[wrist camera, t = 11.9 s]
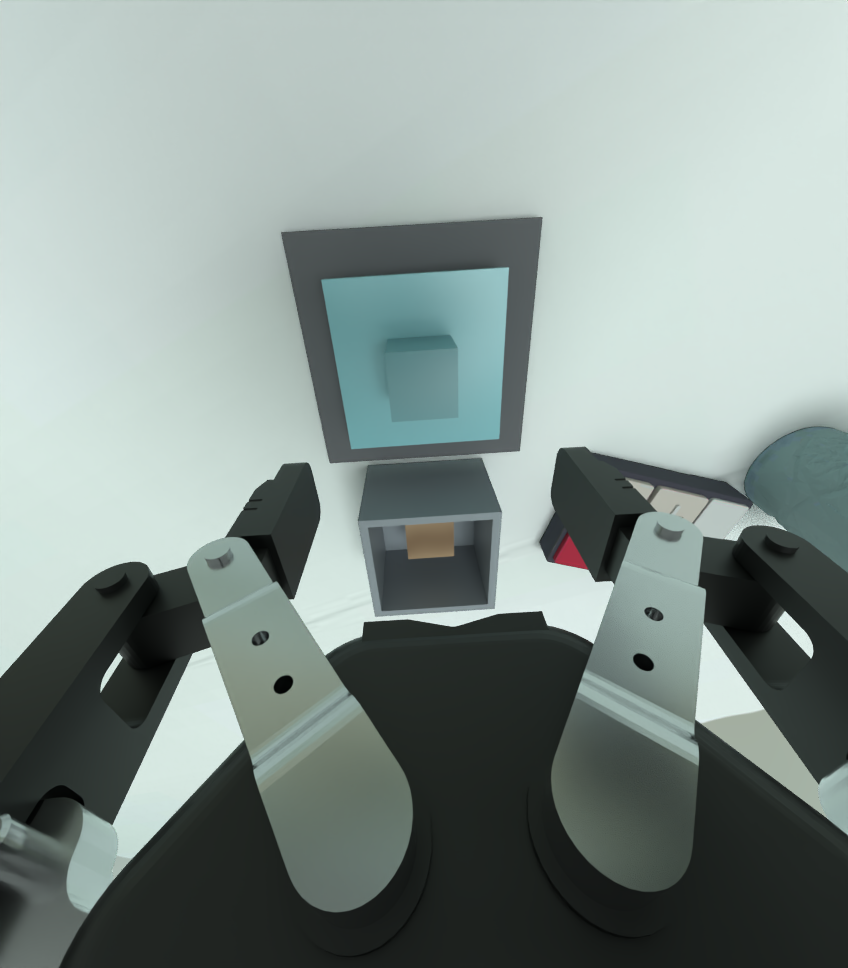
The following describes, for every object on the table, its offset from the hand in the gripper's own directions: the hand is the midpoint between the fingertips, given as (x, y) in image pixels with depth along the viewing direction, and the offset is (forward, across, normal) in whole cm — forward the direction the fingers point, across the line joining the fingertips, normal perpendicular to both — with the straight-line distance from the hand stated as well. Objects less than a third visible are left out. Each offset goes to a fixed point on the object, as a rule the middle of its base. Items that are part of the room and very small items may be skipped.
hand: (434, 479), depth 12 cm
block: (+17, 0, +14) cm, 22 cm away
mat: (+18, 0, 0) cm, 18 cm away
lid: (+17, 0, 0) cm, 17 cm away
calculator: (+19, -20, +17) cm, 32 cm away
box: (+18, 0, +14) cm, 23 cm away
